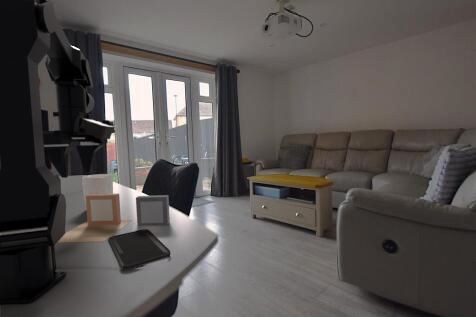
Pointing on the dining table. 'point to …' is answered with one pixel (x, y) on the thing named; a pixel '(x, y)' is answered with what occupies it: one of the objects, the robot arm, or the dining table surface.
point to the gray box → (152, 210)
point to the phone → (137, 249)
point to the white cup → (97, 184)
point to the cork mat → (91, 232)
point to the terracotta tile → (103, 209)
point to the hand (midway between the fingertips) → (77, 174)
